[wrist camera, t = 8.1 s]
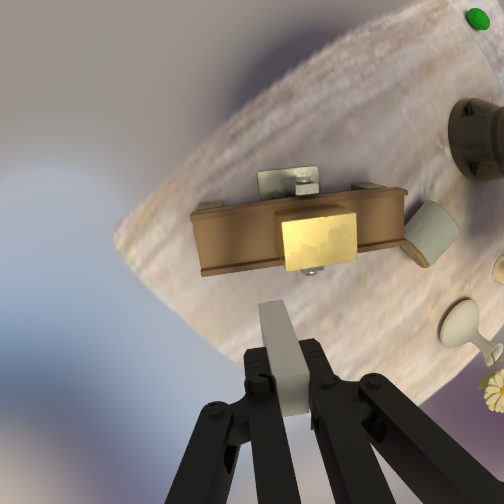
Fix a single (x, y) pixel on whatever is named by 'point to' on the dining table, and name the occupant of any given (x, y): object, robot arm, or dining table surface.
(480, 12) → the polyhedron
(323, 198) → the beam
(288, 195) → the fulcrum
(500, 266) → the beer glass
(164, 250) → the dining table surface
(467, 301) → the flower in vase
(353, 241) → the block
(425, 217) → the ceramic mug
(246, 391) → the robot arm
